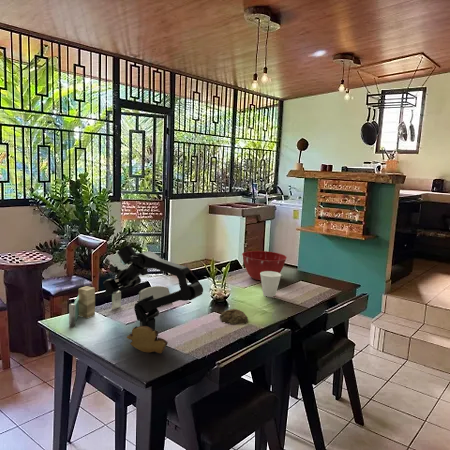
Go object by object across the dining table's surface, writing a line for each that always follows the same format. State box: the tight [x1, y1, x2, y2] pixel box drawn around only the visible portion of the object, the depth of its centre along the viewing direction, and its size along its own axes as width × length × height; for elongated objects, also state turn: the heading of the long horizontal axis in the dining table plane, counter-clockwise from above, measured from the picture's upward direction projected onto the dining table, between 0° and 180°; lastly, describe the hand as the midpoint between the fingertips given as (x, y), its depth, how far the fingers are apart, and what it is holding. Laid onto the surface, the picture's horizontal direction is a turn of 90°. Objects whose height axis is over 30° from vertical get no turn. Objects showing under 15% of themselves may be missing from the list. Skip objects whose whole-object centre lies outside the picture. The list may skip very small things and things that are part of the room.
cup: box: [260, 271, 282, 298], centre depth 229 cm, size 12×12×12 cm
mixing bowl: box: [241, 250, 288, 282], centre depth 262 cm, size 28×28×15 cm
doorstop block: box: [78, 285, 96, 319], centre depth 187 cm, size 5×5×13 cm
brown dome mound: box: [219, 308, 249, 325], centre depth 192 cm, size 13×12×5 cm
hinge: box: [138, 285, 173, 305], centre depth 208 cm, size 17×5×10 cm, turn 122°
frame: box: [68, 291, 122, 329], centre depth 187 cm, size 31×2×10 cm, turn 153°
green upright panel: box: [73, 294, 80, 323], centre depth 187 cm, size 22×2×8 cm, turn 10°
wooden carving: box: [126, 325, 169, 354], centre depth 155 cm, size 16×5×10 cm, turn 75°
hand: (112, 292), depth 180 cm, fingers open, 9 cm apart
